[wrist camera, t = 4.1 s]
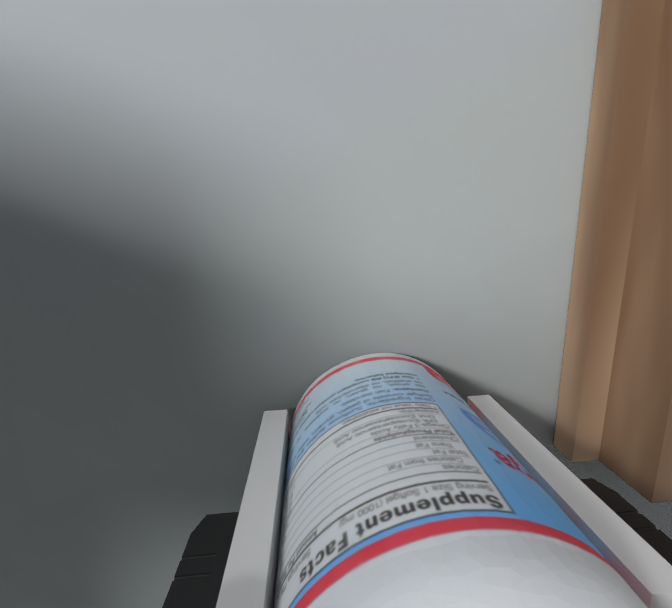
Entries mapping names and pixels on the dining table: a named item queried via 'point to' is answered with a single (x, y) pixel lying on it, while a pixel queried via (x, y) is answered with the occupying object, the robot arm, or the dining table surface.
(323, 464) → the pill bottle
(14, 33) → the dining table surface
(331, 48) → the dining table surface
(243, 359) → the dining table surface
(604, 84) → the rack
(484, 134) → the dining table surface
